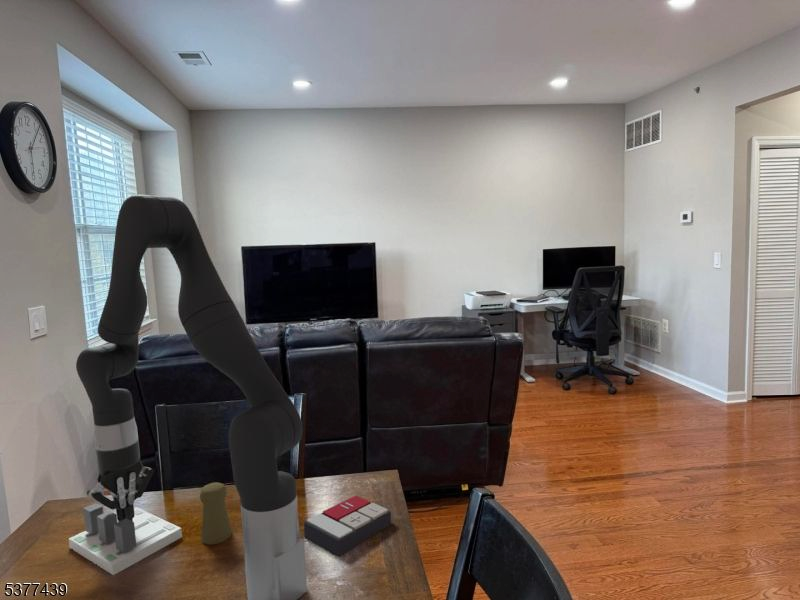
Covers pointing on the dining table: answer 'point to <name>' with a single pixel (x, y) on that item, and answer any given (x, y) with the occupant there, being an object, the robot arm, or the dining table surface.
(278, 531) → the robot arm
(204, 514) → the cork
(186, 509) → the dining table surface
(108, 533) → the middle breaker handle
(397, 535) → the dining table surface
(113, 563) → the breaker panel
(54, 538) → the dining table surface
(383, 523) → the calculator
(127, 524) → the handle
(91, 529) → the far breaker handle
